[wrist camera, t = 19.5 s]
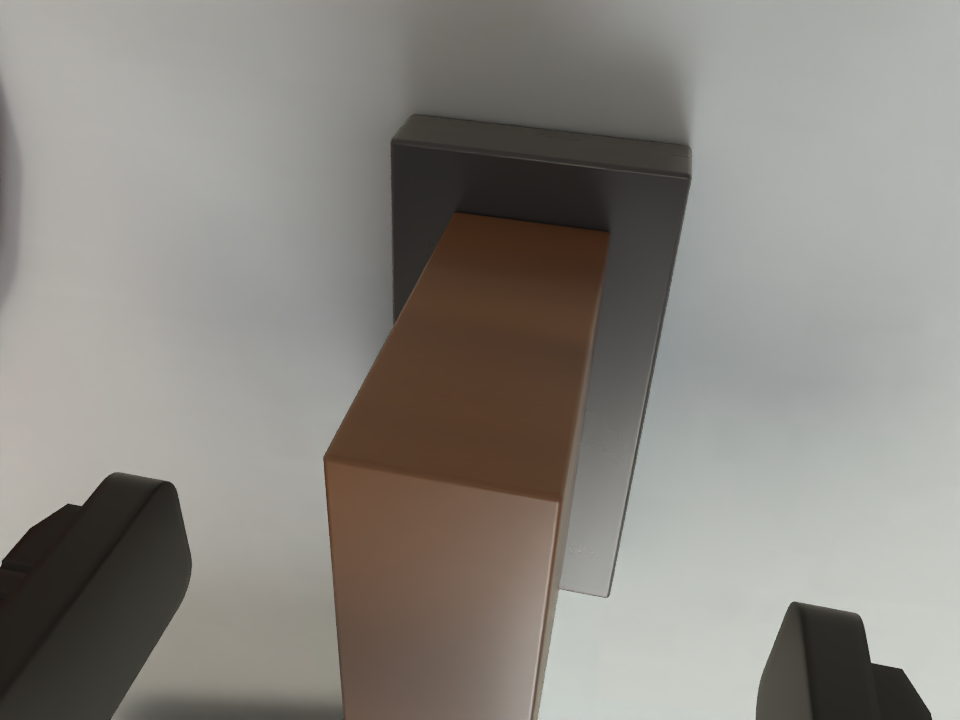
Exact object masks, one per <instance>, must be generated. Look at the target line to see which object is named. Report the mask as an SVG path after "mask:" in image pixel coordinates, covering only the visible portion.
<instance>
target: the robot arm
mask: <svg viewBox="0 0 960 720" xmlns="http://www.w3.org/2000/svg"><path fill="white" fill-rule="evenodd" d="M191 568H192V559H191V553H190V549H189V544H188V540H187V535H186V531H185V526H184V521H183V517H182V512H181V508H180V503H179V499H178V494H177V490H176V488H175V486H174V485H173V484H172V483H171V482H168V481H163V480H157V479H152V478H147V477H141V476H136V475H131V474H125V473H120V472H116V473H113V474H111V475H109V476H108V477H106V478H105V479H104V480H103V481H102V483H101V484H100V485H99V486H98V487H97V489H96V490H95V491H94V492H93V493H92V495H91V496H90V497H89V498H88V500H87V501H86V502H85V503H84V504H83V506H77V505H72V504H67V505H65V506H64V507H62V508H61V509H59V510H58V511H56V512H55V513H53V514H52V515H50V516H49V517H47V518H45V519H44V520H42V521H41V522H39V523H38V524H36V525H35V526H33V527H32V528H30V529H29V530H28V531H27V533H26V534H25V535H24V536H23V537H22V538H21V540H20V541H19V542H18V543H17V544H16V545H15V546H14V548H13V549H12V550H11V551H10V552H9V553H8V555H7V556H6V557H5V558H4V559H3V560H2V565H1V567H0V720H110V719H111V718H112V716H113V714H114V713H115V711H116V709H117V708H118V706H119V704H120V703H121V701H122V700H123V698H124V696H125V695H126V693H127V691H128V690H129V688H130V686H131V685H132V683H133V682H134V680H135V678H136V677H137V675H138V673H139V672H140V670H141V668H142V667H143V665H144V663H145V662H146V660H147V659H148V657H149V655H150V654H151V652H152V650H153V649H154V647H155V645H156V644H157V642H158V641H159V639H160V637H161V636H162V634H163V632H164V631H165V629H166V627H167V626H168V624H169V622H170V621H171V619H172V618H173V616H174V614H175V613H176V611H177V609H178V608H179V606H180V604H181V602H182V601H183V598H184V596H185V594H186V591H187V588H188V585H189V581H190V576H191ZM756 720H932V717H931V713H930V711H929V710H928V708H927V707H926V705H925V704H924V702H923V701H922V699H921V697H920V696H919V694H918V693H917V691H916V690H915V688H914V687H913V685H912V684H911V682H910V680H909V679H908V677H907V676H906V674H905V673H904V671H903V670H902V669H899V668H894V667H889V666H883V665H878V664H873V663H871V660H870V655H869V650H868V644H867V639H866V633H865V629H864V624H863V622H862V619H861V617H860V616H859V615H858V614H857V613H852V612H847V611H842V610H836V609H831V608H826V607H820V606H815V605H810V604H805V603H799V602H792V603H791V604H790V606H789V607H788V609H787V612H786V614H785V617H784V619H783V622H782V625H781V627H780V630H779V632H778V635H777V637H776V640H775V643H774V645H773V648H772V650H771V653H770V655H769V658H768V661H767V663H766V666H765V668H764V671H763V674H762V677H761V680H760V685H759V690H758V697H757V706H756Z"/></svg>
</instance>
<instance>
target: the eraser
mask: <svg viewBox="0 0 960 720" xmlns="http://www.w3.org/2000/svg"><path fill="white" fill-rule="evenodd" d="M691 179H692V150H691V148H690V147H688V146H683V145H674V144H665V143H656V142H648V141H639V140H630V139H622V138H613V137H604V136H595V135H587V134H578V133H569V132H561V131H552V130H543V129H534V128H526V127H517V126H508V125H499V124H491V123H482V122H473V121H465V120H456V119H447V118H438V117H430V116H421V115H411V116H410V117H409V118H408V120H407V121H406V122H405V123H404V125H403V126H402V127H401V128H400V130H399V131H398V132H397V133H396V135H395V136H394V137H393V138H392V140H391V206H392V272H393V328H392V330H391V332H390V333H389V335H388V337H387V339H386V341H385V343H384V345H383V347H382V348H381V350H380V352H379V354H378V356H377V358H376V360H375V361H374V363H373V365H372V367H371V369H370V371H369V373H368V375H367V376H366V378H365V380H364V382H363V384H362V386H361V388H360V390H359V391H358V393H357V395H356V397H355V399H354V401H353V403H352V404H351V406H350V408H349V410H348V412H347V414H346V416H345V418H344V419H343V421H342V423H341V425H340V427H339V429H338V431H337V432H336V434H335V436H334V438H333V440H332V442H331V444H330V446H329V447H328V449H327V451H326V453H325V455H324V457H323V459H324V472H325V485H326V498H327V510H328V523H329V536H330V549H331V561H332V574H333V587H334V600H335V612H336V625H337V638H338V651H339V663H340V676H341V689H342V702H343V714H344V720H537V719H538V713H539V707H540V701H541V695H542V689H543V683H544V677H545V670H546V664H547V658H548V652H549V646H550V640H551V634H552V628H553V622H554V616H555V610H556V604H557V597H558V591H559V589H562V590H567V591H572V592H578V593H583V594H588V595H594V596H599V597H604V598H607V597H609V595H610V591H611V586H612V581H613V576H614V571H615V566H616V561H617V556H618V551H619V546H620V540H621V535H622V530H623V525H624V520H625V515H626V510H627V505H628V500H629V495H630V490H631V484H632V479H633V474H634V469H635V464H636V459H637V454H638V449H639V444H640V439H641V433H642V428H643V423H644V418H645V413H646V408H647V403H648V398H649V393H650V388H651V382H652V377H653V372H654V367H655V362H656V357H657V352H658V347H659V342H660V337H661V331H662V326H663V321H664V316H665V311H666V306H667V301H668V296H669V291H670V286H671V281H672V275H673V270H674V265H675V260H676V255H677V250H678V245H679V240H680V235H681V230H682V224H683V219H684V214H685V209H686V204H687V199H688V194H689V189H690V184H691Z"/></svg>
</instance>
